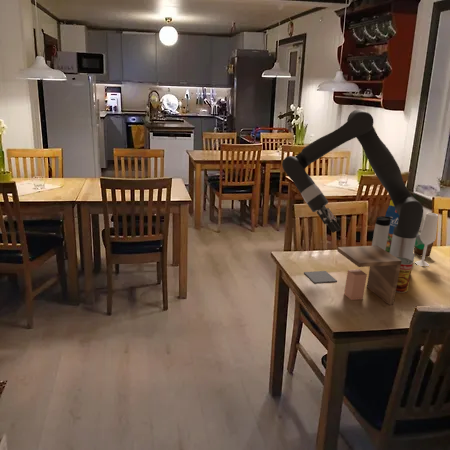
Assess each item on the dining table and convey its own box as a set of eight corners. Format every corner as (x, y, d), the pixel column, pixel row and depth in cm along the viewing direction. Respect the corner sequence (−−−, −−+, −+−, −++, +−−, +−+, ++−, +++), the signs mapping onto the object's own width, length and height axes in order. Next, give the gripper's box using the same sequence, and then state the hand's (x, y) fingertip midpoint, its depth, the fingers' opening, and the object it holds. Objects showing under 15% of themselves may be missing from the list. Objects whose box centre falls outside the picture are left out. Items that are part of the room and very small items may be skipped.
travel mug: (386, 260, 209) (393, 219, 203) (372, 259, 209) (379, 218, 203) (382, 255, 215) (389, 215, 209) (368, 254, 215) (375, 214, 209)
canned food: (387, 290, 178) (392, 262, 175) (386, 282, 186) (391, 255, 182) (408, 294, 177) (414, 265, 173) (406, 285, 184) (411, 258, 180)
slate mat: (325, 271, 193) (325, 270, 193) (336, 281, 184) (337, 280, 183) (303, 273, 190) (303, 272, 190) (314, 283, 181) (314, 282, 181)
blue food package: (384, 247, 227) (392, 198, 220) (408, 253, 220) (417, 204, 212) (379, 250, 223) (387, 200, 215) (403, 257, 215) (412, 206, 208)
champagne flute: (412, 264, 207) (422, 214, 199) (415, 260, 212) (425, 211, 205) (428, 268, 203) (439, 217, 196) (431, 264, 209) (441, 214, 201)
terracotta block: (355, 293, 175) (359, 269, 172) (362, 299, 170) (366, 274, 167) (344, 294, 173) (347, 269, 170) (350, 300, 169) (354, 275, 166)
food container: (406, 248, 227) (410, 229, 224) (418, 248, 228) (422, 229, 225) (418, 257, 216) (422, 238, 213) (430, 258, 216) (435, 238, 213)
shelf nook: (369, 286, 181) (376, 245, 176) (393, 304, 167) (401, 260, 162) (331, 289, 177) (337, 247, 171) (352, 308, 162) (359, 263, 157)
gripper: (318, 192, 177) (342, 226, 173) (325, 192, 190) (348, 224, 186) (302, 203, 179) (325, 237, 176) (311, 203, 192) (332, 235, 189)
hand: (337, 231), depth 181 cm, fingers open, 8 cm apart
